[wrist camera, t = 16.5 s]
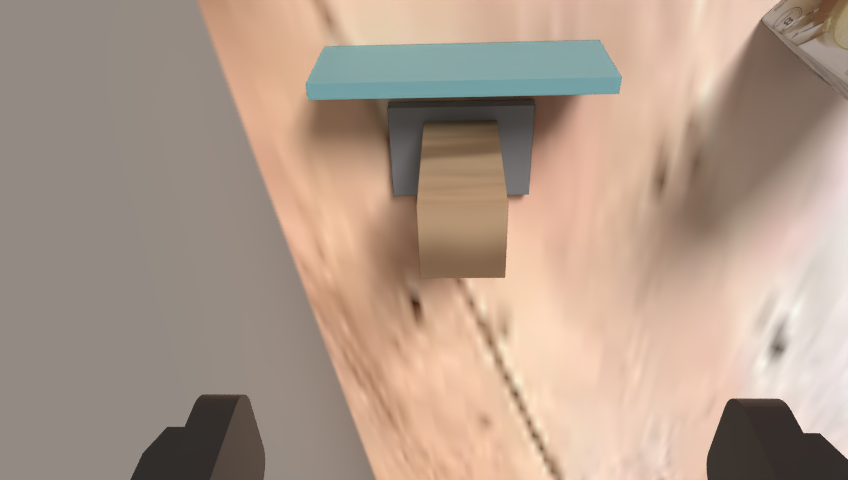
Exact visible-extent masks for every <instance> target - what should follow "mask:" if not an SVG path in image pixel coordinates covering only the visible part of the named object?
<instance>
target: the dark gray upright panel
mask: <svg viewBox="0 0 848 480" xmlns="http://www.w3.org/2000/svg"><path fill="white" fill-rule="evenodd" d="M387 110H388V123H389V137H390V150H391V163H392V177H393V190H394V196H418V185H419V174H420V162H421V150H422V139H423V127H424V121H471V120H497V125H498V133H499V140H500V147H501V155H502V162H503V169H504V177H505V184H506V191H507V195H525V194H529V184H530V169H531V155H532V141H533V127H534V112H535V104H534V100H489V101H437V102H389V103H388V108H387Z"/></svg>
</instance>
